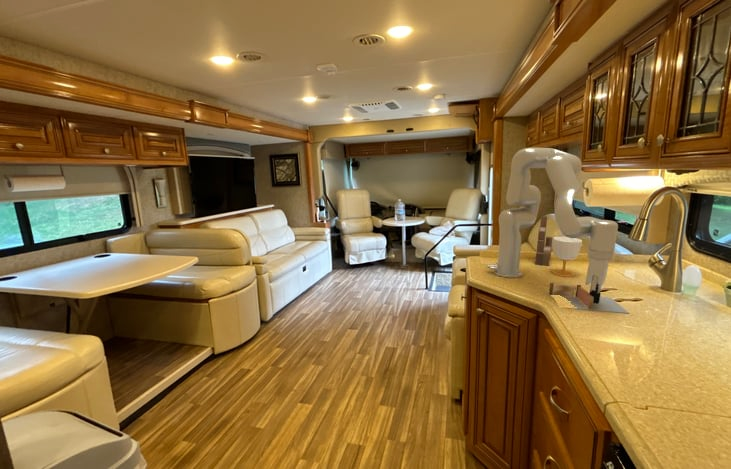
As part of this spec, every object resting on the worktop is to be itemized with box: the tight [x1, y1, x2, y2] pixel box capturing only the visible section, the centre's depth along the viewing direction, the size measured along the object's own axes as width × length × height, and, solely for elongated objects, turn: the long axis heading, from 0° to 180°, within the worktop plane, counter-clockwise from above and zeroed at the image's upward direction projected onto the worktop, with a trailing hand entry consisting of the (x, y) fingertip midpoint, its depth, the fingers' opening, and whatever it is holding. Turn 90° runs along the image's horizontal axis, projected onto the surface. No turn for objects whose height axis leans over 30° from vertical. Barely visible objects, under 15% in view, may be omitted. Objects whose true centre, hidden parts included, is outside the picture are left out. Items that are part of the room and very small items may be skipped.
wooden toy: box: [534, 215, 554, 267], centre depth 176 cm, size 16×7×25 cm, turn 149°
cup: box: [552, 236, 583, 278], centre depth 157 cm, size 12×12×17 cm
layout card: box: [562, 294, 630, 314], centre depth 125 cm, size 22×14×1 cm, turn 76°
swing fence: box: [577, 286, 594, 308], centre depth 123 cm, size 11×1×4 cm, turn 167°
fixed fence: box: [548, 282, 582, 297], centre depth 131 cm, size 11×1×5 cm, turn 76°
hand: (593, 302), depth 122 cm, fingers closed
